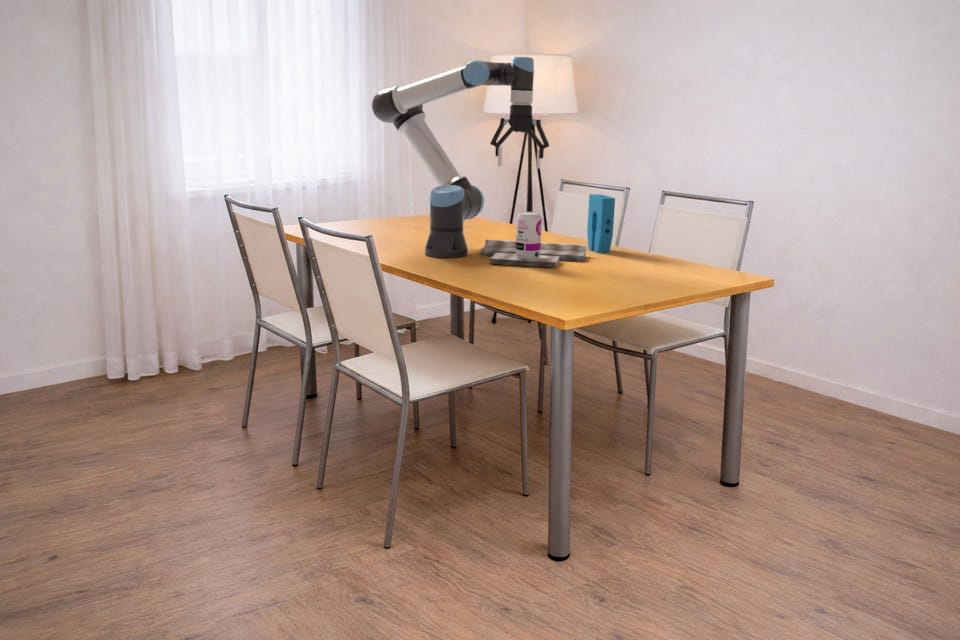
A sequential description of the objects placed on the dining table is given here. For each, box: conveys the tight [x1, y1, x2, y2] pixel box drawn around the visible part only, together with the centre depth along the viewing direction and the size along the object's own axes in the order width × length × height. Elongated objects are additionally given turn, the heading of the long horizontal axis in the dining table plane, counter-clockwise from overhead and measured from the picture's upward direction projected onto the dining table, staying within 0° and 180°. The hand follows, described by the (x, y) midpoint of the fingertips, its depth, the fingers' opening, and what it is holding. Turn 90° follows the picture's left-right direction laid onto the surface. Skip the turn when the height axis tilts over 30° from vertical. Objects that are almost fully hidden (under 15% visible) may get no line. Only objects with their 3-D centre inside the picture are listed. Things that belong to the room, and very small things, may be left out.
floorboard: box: [479, 239, 587, 263], centre depth 303 cm, size 36×11×4 cm, turn 79°
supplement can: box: [515, 211, 543, 260], centre depth 288 cm, size 8×8×15 cm
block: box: [586, 193, 616, 254], centre depth 315 cm, size 12×5×20 cm, turn 20°
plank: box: [489, 253, 560, 269], centre depth 291 cm, size 22×12×2 cm, turn 79°
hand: (518, 167), depth 299 cm, fingers open, 13 cm apart
